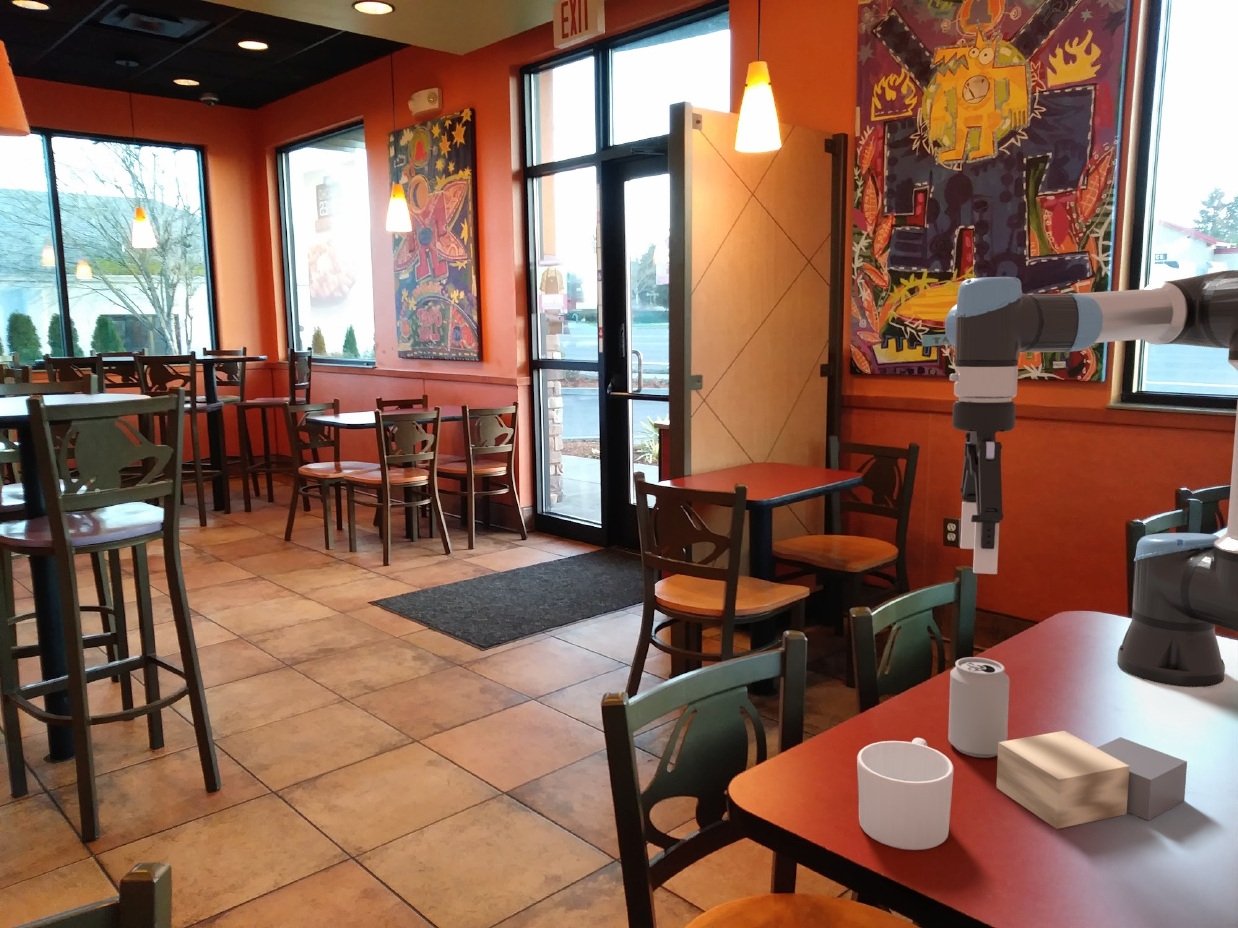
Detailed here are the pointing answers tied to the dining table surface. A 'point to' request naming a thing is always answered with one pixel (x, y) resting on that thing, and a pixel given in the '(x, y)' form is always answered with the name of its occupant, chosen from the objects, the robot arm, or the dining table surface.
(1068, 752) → the birch block
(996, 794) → the dining table surface
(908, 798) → the mug
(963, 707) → the can
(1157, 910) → the dining table surface
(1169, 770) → the slate block
